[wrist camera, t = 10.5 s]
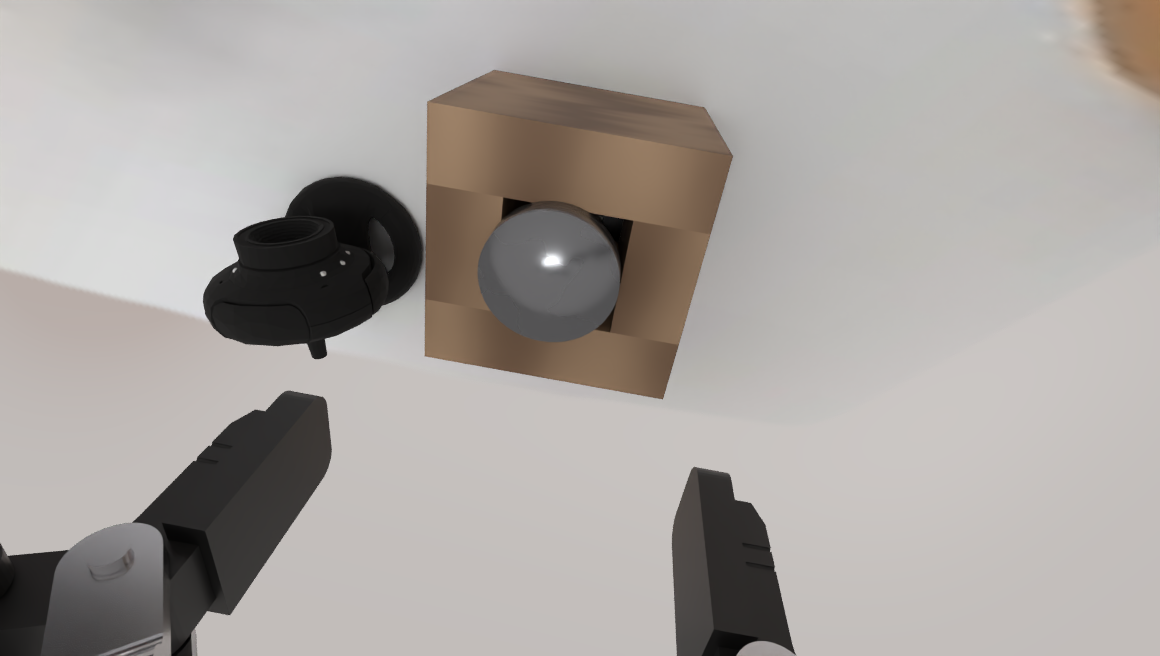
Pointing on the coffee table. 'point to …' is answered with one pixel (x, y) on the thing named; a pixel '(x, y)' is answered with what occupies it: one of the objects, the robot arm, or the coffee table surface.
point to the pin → (550, 271)
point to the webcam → (313, 268)
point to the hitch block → (587, 180)
